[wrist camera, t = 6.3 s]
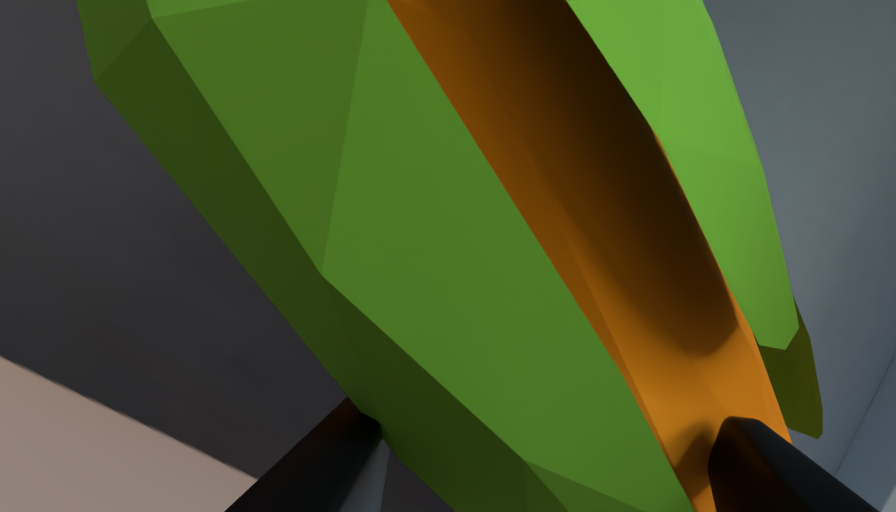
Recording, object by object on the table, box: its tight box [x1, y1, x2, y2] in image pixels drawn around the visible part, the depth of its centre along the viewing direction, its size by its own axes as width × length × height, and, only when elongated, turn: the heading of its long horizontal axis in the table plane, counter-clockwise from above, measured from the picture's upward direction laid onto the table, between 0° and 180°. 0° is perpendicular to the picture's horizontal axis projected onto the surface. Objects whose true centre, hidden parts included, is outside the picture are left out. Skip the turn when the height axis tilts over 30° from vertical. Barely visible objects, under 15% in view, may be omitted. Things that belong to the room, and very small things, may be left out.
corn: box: [76, 0, 823, 512], centre depth 10 cm, size 7×8×20 cm
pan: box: [702, 0, 896, 512], centre depth 19 cm, size 15×26×3 cm, turn 177°
